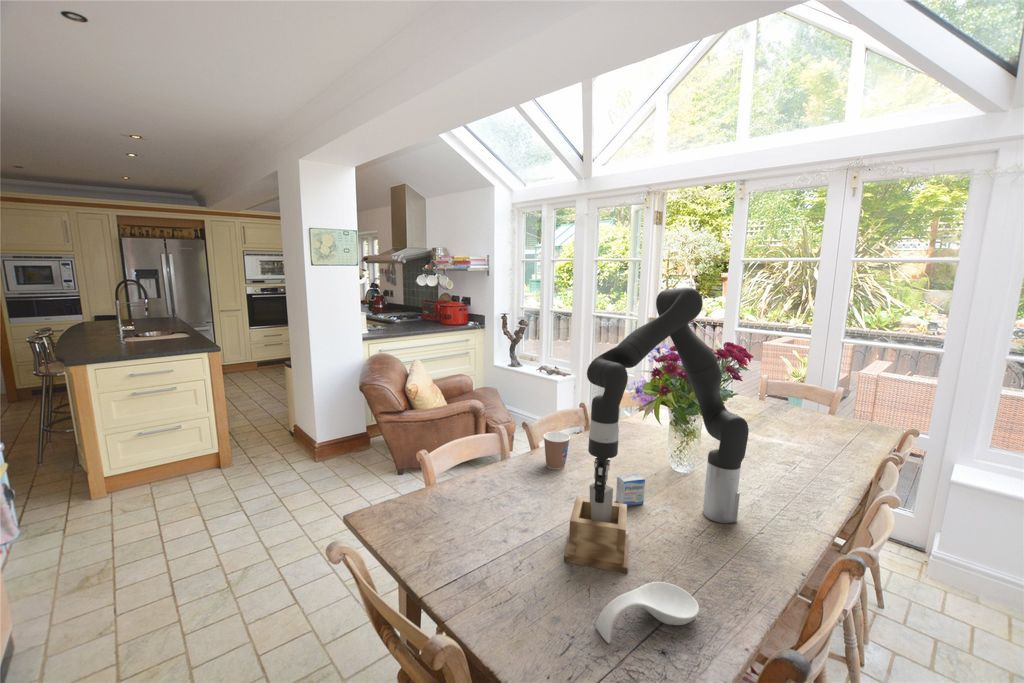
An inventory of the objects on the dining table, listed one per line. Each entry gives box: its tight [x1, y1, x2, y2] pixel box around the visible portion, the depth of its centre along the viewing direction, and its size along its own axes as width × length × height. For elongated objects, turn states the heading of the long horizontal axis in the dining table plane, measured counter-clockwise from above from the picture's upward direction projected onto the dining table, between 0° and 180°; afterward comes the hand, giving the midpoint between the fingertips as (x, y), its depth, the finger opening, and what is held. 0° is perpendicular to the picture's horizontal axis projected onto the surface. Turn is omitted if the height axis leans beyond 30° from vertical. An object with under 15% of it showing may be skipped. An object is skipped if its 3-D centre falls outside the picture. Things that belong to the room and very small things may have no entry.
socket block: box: [563, 496, 630, 574], centre depth 121 cm, size 16×15×11 cm
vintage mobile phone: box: [589, 482, 614, 523], centre depth 120 cm, size 4×5×25 cm
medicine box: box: [615, 473, 646, 507], centre depth 146 cm, size 8×4×9 cm, turn 105°
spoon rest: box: [595, 581, 700, 644], centre depth 97 cm, size 24×12×7 cm, turn 113°
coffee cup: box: [543, 431, 571, 470], centre depth 172 cm, size 10×10×12 cm
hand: (600, 494), depth 119 cm, fingers open, 8 cm apart
